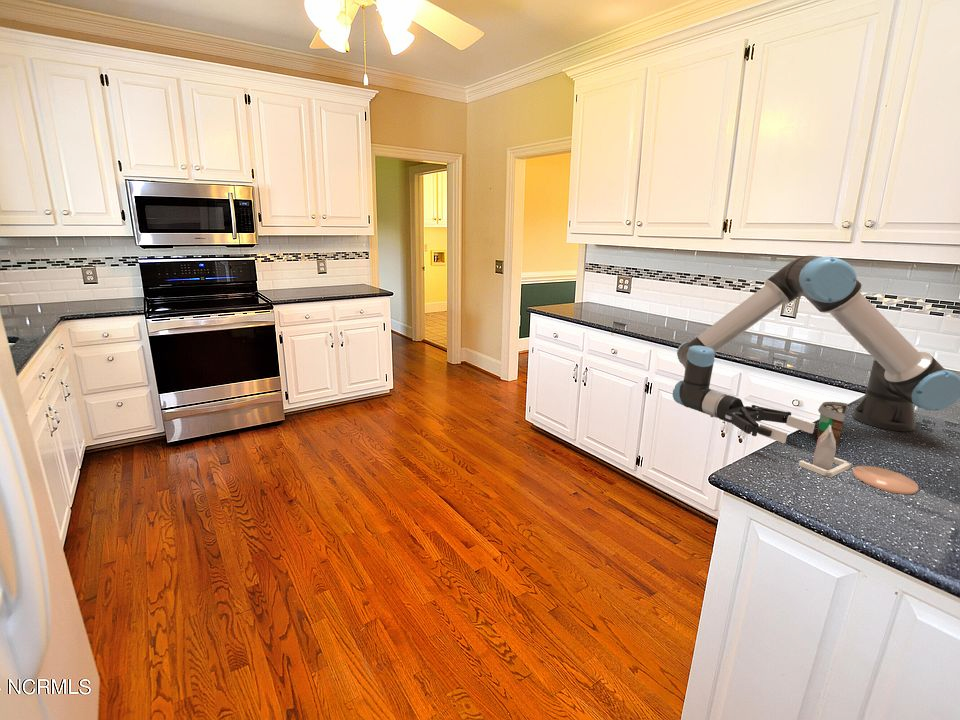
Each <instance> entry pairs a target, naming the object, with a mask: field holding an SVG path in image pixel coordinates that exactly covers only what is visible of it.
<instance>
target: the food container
mask: <svg viewBox="0 0 960 720" xmlns="http://www.w3.org/2000/svg"><path fill="white" fill-rule="evenodd" d="M847 408H848V403H845V402H840V401H839V402H838V401H825V402H822V404H820V405H819V408H818V409H817V411H818V413H819V421H818V422H819V423H818V428H817V436H816V439H817V438H818V437H819V436H820V435H821V434H822V433H823V432H824V431H825V430H826V429H827V428H828V426H829V424H830V425H831V428H832V432H833V435H834V438H835V440H836V448H838V444H839V440H840V436H841V433H842V428H843V425H844V421H845V417H846V411H847Z"/></svg>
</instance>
